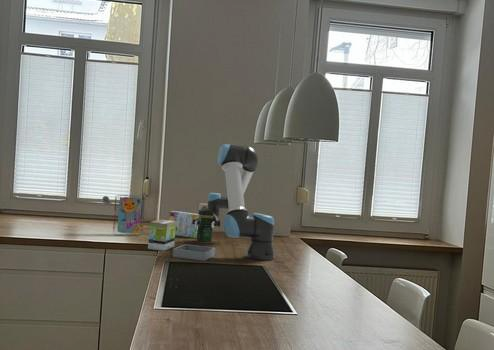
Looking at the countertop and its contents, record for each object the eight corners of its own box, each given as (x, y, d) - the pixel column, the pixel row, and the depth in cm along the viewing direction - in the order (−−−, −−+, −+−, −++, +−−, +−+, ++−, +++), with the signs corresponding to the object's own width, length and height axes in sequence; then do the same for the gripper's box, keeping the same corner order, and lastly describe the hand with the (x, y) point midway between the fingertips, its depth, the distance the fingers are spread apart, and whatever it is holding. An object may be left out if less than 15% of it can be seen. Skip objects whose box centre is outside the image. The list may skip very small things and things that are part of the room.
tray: (215, 255, 272) (215, 247, 272) (204, 260, 255) (204, 252, 255) (185, 251, 276) (185, 244, 276) (172, 256, 259) (173, 248, 259)
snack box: (200, 237, 327) (202, 214, 327) (195, 238, 322) (197, 214, 322) (172, 233, 336) (173, 210, 336) (167, 234, 331) (169, 210, 330)
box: (100, 235, 305) (103, 194, 304) (99, 234, 311) (101, 193, 310) (142, 236, 315) (145, 196, 314) (140, 234, 320) (143, 195, 320)
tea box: (165, 251, 273) (167, 223, 272) (147, 249, 275) (149, 221, 274) (174, 246, 287) (176, 220, 287) (157, 244, 289) (159, 218, 289)
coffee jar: (213, 243, 282) (215, 209, 282) (199, 243, 280) (201, 209, 279) (208, 240, 291) (211, 207, 291) (195, 240, 289) (197, 207, 288)
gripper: (227, 228, 303) (222, 233, 280) (192, 225, 304) (184, 229, 282) (228, 215, 302) (223, 219, 280) (193, 212, 304) (185, 216, 282)
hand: (203, 224), depth 281 cm, fingers closed on coffee jar, 8 cm apart
